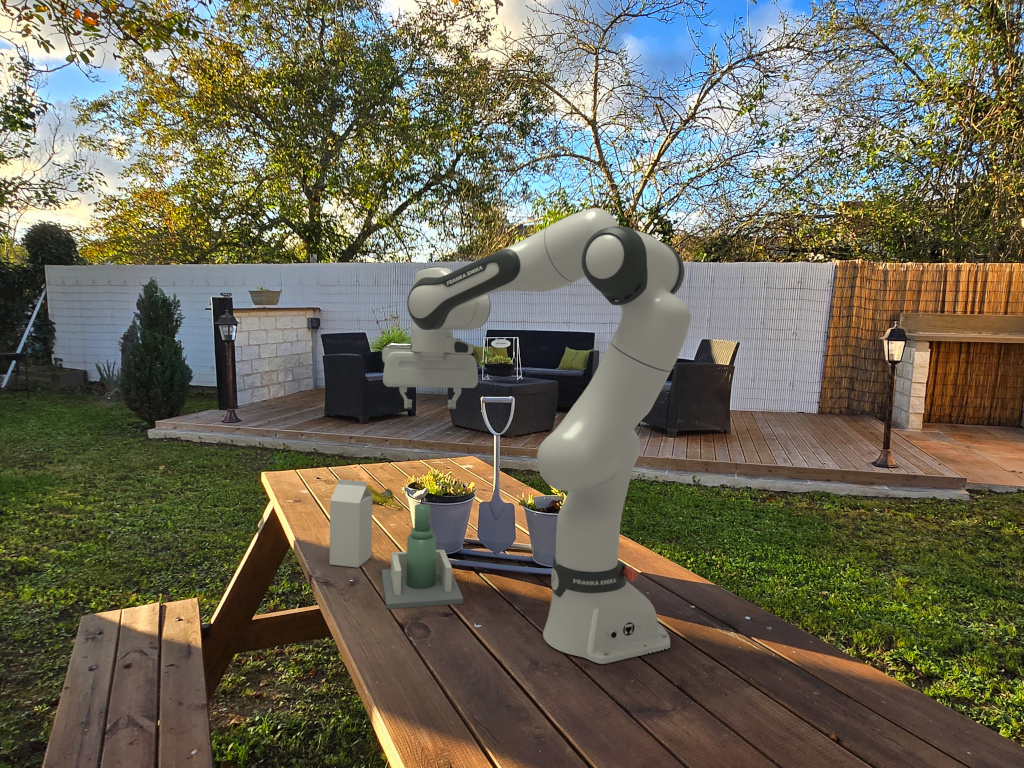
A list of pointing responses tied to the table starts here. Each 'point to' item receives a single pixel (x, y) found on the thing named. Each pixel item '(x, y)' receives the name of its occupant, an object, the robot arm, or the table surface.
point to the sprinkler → (383, 497)
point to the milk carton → (350, 524)
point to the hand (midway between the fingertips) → (430, 408)
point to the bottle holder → (410, 597)
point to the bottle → (421, 551)
